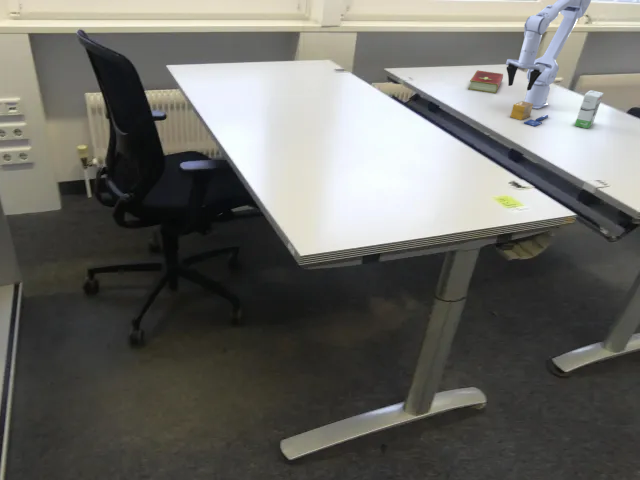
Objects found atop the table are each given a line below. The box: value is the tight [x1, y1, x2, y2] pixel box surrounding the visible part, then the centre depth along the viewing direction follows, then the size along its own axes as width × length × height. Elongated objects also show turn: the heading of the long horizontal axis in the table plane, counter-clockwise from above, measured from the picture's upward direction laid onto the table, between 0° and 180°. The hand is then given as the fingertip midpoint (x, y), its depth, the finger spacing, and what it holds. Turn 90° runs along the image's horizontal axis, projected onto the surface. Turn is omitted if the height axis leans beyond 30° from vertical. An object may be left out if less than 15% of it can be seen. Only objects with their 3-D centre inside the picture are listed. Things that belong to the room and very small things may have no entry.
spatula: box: [523, 114, 549, 127], centre depth 209 cm, size 15×4×1 cm, turn 133°
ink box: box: [574, 90, 604, 129], centre depth 205 cm, size 9×5×12 cm, turn 142°
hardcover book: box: [468, 70, 504, 94], centre depth 249 cm, size 12×21×4 cm, turn 155°
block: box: [509, 100, 533, 121], centre depth 212 cm, size 7×4×5 cm, turn 133°
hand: (519, 87), depth 214 cm, fingers open, 7 cm apart
